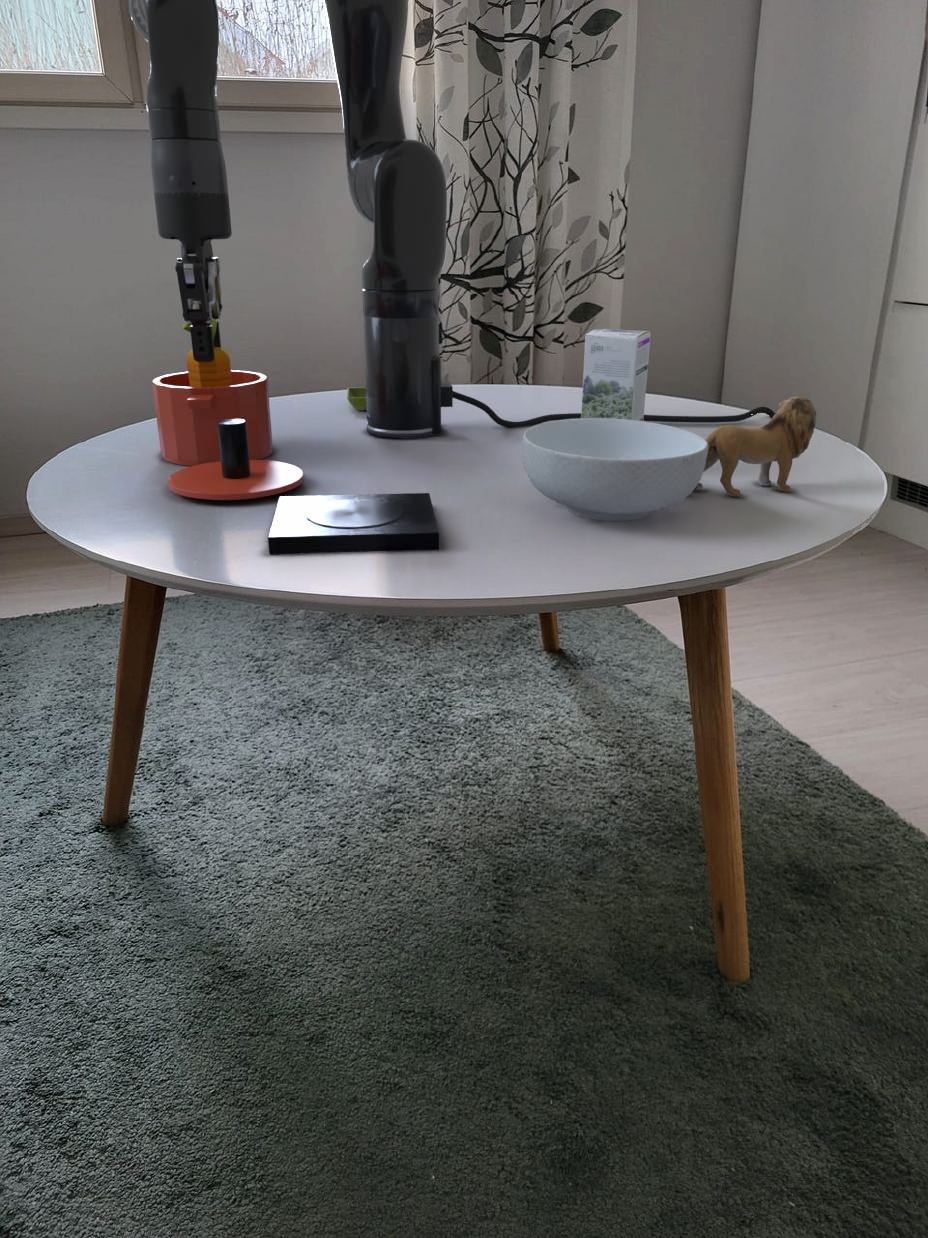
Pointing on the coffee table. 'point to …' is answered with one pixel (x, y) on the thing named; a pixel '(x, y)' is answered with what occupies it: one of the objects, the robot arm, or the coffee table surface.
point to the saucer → (357, 397)
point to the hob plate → (353, 524)
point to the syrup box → (615, 374)
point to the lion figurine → (763, 444)
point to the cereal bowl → (613, 465)
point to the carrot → (209, 367)
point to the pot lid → (235, 471)
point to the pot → (210, 416)
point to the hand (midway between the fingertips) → (208, 356)
